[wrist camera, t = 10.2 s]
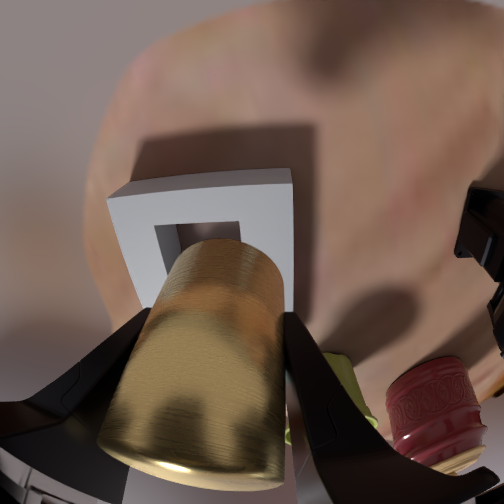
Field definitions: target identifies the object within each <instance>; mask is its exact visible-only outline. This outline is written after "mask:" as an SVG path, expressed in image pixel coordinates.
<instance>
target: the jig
mask: <svg viewBox="0 0 504 504" xmlns="http://www.w3.org/2000/svg"><path fill="white" fill-rule="evenodd" d="M106 201H107V205H108V208H109V212H110V215H111V219H112V222H113V225H114V229H115V232H116V235H117V238H118V241H119V244H120V247H121V250H122V253H123V256H124V259H125V262H126V265H127V268H128V271H129V273H130V276H131V279H132V281H133V284H134V287H135V289H136V292H137V294H138V297H139V299H140V302H141V304H142V307H143V309H144V308H146V307H153V305H154V303H155V301H156V299H157V297H158V295H159V292H160V290H161V288H162V286H163V284H164V282H165V280H166V278H167V276H168V274H169V273H170V271H171V269H172V267H173V265H174V263H175V261H176V259H177V258H178V257H179V255H180V254H181V253H182V250H181V246H180V241H179V237H178V233H177V228H176V224H185V223H205V222H226V221H239V225H240V234H241V242H244V243H247V244H249V245H252V246H254V247H255V248H257V249H259V250H261V251H262V252H263V253H265V254H266V255H267V256H268V257H269V258H270V259H271V260H272V261H273V262H274V263H275V264H276V266H277V267H278V269H279V271H280V273H281V275H282V278H283V282H284V299H285V312H291V311H293V281H294V237H293V184H292V177H291V171H290V168H271V169H250V170H233V171H220V172H208V173H197V174H187V175H178V176H169V177H161V178H153V179H146V180H139V181H132V182H128V183H127V184H126V185H124V186H123V187H121V188H120V189H119V190H117V191H116V192H115V193H113V194H112V195H111V196H109V197H108V198H107V199H106Z"/></svg>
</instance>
